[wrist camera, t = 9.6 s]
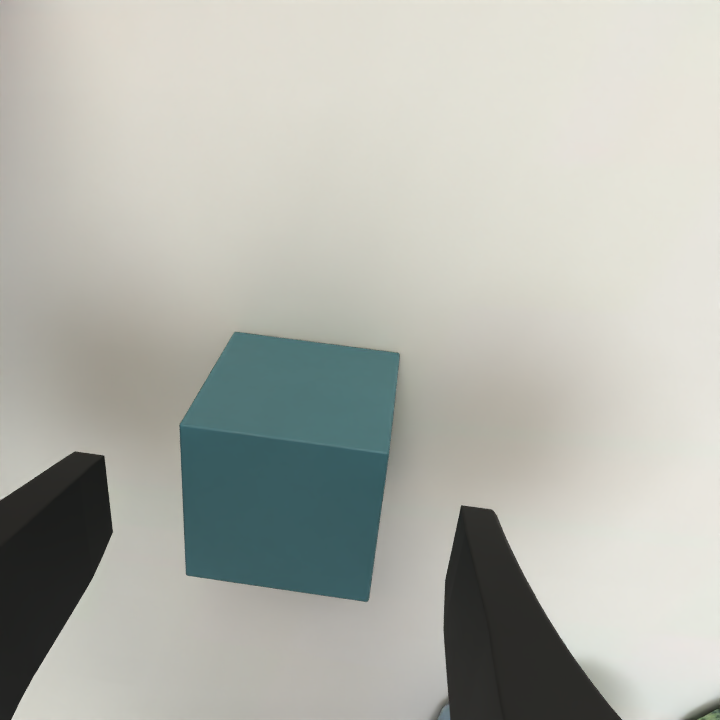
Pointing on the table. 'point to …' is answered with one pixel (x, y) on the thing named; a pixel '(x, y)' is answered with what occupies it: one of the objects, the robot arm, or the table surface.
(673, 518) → the table surface
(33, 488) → the robot arm
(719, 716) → the model
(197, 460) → the block
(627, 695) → the table surface
